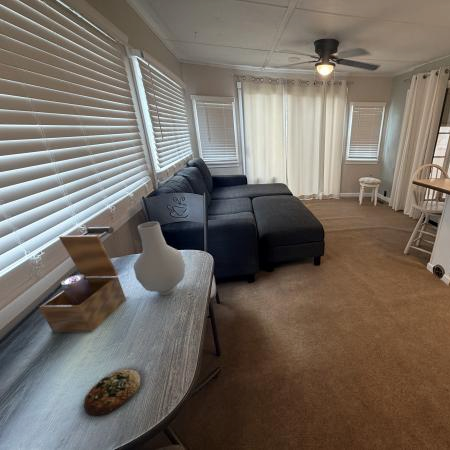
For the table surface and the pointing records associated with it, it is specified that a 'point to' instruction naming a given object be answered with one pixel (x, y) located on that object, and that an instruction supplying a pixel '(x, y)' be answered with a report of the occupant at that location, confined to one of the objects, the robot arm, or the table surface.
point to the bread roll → (111, 392)
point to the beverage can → (76, 289)
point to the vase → (158, 261)
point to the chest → (84, 307)
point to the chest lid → (90, 252)
